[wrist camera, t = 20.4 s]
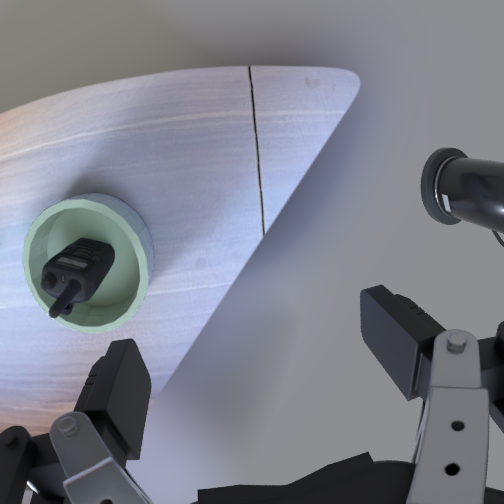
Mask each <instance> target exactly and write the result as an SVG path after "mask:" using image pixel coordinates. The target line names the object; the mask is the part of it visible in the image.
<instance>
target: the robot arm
mask: <svg viewBox="0 0 504 504" xmlns="http://www.w3.org/2000/svg"><path fill="white" fill-rule="evenodd" d="M433 195H434V199H435V203H436V205H437V207H438V209H439V210H440V211H441V212H442V213H443V214H444V215H446V216H448V217H452V218H457V219H460V220H464V221H467V222H470V223H473V224H476V225H479V226H482V227H485V228H488V229H491V230H492V231H493V233H494V235H495V237H496V238H497V240H498V241H499V243H500V244H501V245H502V246H503V247H504V242H503V241H502V239H501V238H500V236H499V235H498V233H497V232H500V233H503V234H504V162H499V161H490V160H480V159H472V158H461V157H457V156H450V157H447V158H445V159H444V160H443V161H442V162H441V163H440V164H439V166H438V168H437V170H436V172H435V176H434V180H433ZM496 231H497V232H496ZM360 307H361V308H360V310H361V332H362V337H363V340H364V341H365V343H366V345H367V346H368V347H369V349H370V350H371V351H372V353H373V354H374V355H375V357H376V358H377V359H378V361H379V362H380V363H381V365H382V366H383V368H384V369H385V370H386V372H387V373H388V374H389V376H390V377H391V378H392V380H393V381H394V382H395V384H396V385H397V386H398V388H399V389H400V391H401V392H402V393H403V395H404V396H405V398H406V399H407V400H408V401H410V400H412V399H415V398H417V397H419V396H420V397H421V398H422V399H423V403H422V407H421V412H420V418H419V422H418V427H417V432H416V437H415V441H414V445H413V449H412V453H411V456H410V460H409V462H404V461H392V460H386V461H375V462H373V460H372V458H371V456H370V454H369V452H366V453H363V454H360V455H357V456H355V457H351V458H348V459H345V460H342V461H340V462H336V463H333V464H329V465H327V466H325V467H323V468H321V469H319V470H317V471H315V472H313V473H311V474H310V475H307V476H306V477H303V478H301V479H300V480H297V481H295V482H293V483H290V484H288V485H281V486H280V485H279V486H278V485H276V486H275V485H272V486H271V485H269V486H268V485H265V486H264V485H234V486H227V487H219V488H211V489H200V490H198V501H196V502H193V503H191V504H504V491H501V490H497V489H493V488H489V487H486V486H485V485H486V476H487V465H488V448H489V415H490V416H491V417H492V419H493V420H494V421H495V423H496V424H497V425H498V426H499V428H500V429H501V430H502V432H503V433H504V321H503V322H501V323H500V325H499V326H498V329H497V333H496V337H491V338H486V339H481V340H477V339H476V338H475V337H474V336H473V335H472V334H471V333H469V332H466V331H463V330H446V329H445V328H443V327H442V326H441V325H440V324H439V323H438V322H437V321H435V320H434V319H433V318H432V317H431V316H430V315H428V314H427V313H425V312H424V310H422V309H421V308H420V307H418V306H417V305H416V304H415V303H414V302H413V301H411V299H409V298H407V297H404V296H401V295H399V294H396V295H394V294H392V293H391V292H390V291H389V290H388V289H386V287H384V286H383V285H378V286H374V287H371V288H367V289H363V290H362V291H361V294H360ZM88 376H89V378H87V380H86V382H85V386H84V387H83V389H82V391H81V394H80V396H79V398H78V401H77V403H76V406H75V408H74V411H73V412H68V413H66V414H63V415H62V416H60V417H59V418H57V419H56V420H55V421H54V423H53V424H52V426H51V428H50V431H49V433H46V434H42V435H38V436H34V437H32V436H31V435H30V434H29V433H28V431H27V430H26V429H25V428H24V427H22V426H12V427H9V428H7V429H6V430H4V431H3V432H2V433H1V434H0V504H22V499H23V495H24V491H25V488H26V485H27V484H28V485H29V486H30V487H31V488H32V489H33V490H34V491H33V495H32V499H31V502H30V504H154V503H153V502H152V501H151V500H150V498H149V497H148V496H147V495H146V493H145V492H144V491H143V490H142V488H141V487H140V486H139V485H138V484H137V482H136V481H135V479H134V478H133V477H132V476H131V474H130V473H129V471H128V470H127V469H126V468H125V466H126V461H127V460H139V459H140V452H141V445H142V439H143V432H144V427H145V421H146V415H147V409H148V404H149V398H150V393H151V379H150V375H149V373H148V370H147V368H146V366H145V363H144V361H143V359H142V357H141V354H140V352H139V349H138V347H137V345H136V343H135V341H134V340H133V339H124V340H118V341H112V342H111V344H110V346H109V348H108V351H107V353H106V355H105V356H102V357H101V358H100V359H99V360H98V361H97V362H96V363H95V364H94V365H93V366H92V369H91V371H90V373H89V375H88Z"/></svg>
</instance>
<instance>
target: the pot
mask: <svg viewBox="0 0 504 504" xmlns="http://www.w3.org/2000/svg"><path fill="white" fill-rule="evenodd" d="M79 238H88V239H93V240H97V241H101V242H104V243H107V244H110V245H111V246H112V247H113V249H114V251H115V259H114V263H113V265H112V267H111V268H110V270H109V272H108V274H107V275H106V277H105V278H104V280H103V282H102V283H101V285H100V286H99V288H98V289H97V291H96V292H95V294H94V295H93V296H92V297H91V298H90V299H89V300H88V301H86V302H83V303H75V304H74V307H73V309H72V312H71V313H70V314H69V315H62V314H60V315H59V316H58V317H57V318H52V319H54V320H55V321H57V322H58V323H60V324H61V325H63V326H64V327H67V328H70V329H73V330H76V331H79V332H82V333H103V332H106V331H109V330H113V329H116V328H119V327H120V326H122V325H123V324H124V323H125V322H127V321H128V320H129V319H131V318H132V317H133V316H134V315H135V313H136V312H137V310H138V308H139V307H140V305H141V304H142V302H143V301H144V298H145V295H146V292H147V289H148V285H149V282H150V279H151V274H152V271H153V266H154V248H153V243H152V239H151V236H150V233H149V231H148V229H147V227H146V225H145V223H144V222H143V220H142V218H141V217H140V216H139V215H138V214H137V212H136V211H135V210H134V209H132V208H131V207H130V206H129V205H128V204H126V203H125V202H123V201H121V200H120V199H118V198H116V197H113V196H110V195H106V194H101V193H89V194H80V195H77V196H74V197H71V198H68V199H66V200H63V201H61V202H59V203H57V204H55V205H52V206H50V207H48V208H46V209H45V210H44V211H43V212H42V213H41V214H40V215H39V216H38V218H37V219H36V220H35V221H34V222H33V223H32V225H31V227H30V229H29V232H28V234H27V236H26V239H25V241H24V250H23V260H22V263H23V268H24V274H25V279H26V282H27V284H28V287H29V289H30V291H31V293H32V295H33V297H34V299H35V301H36V302H37V303H38V304H39V306H40V307H41V308H42V309H43V310H44V311H45V312H46V314H47V315H48V316H49V309H50V308H51V306H52V305H53V304H54V302H55V301H56V299H55V298H54V297H52V296H50V295H49V294H48V293H47V292H46V291H44V290H43V289H42V288H41V286H40V283H41V275H42V269H43V267H44V265H45V264H46V263H47V262H48V261H49V260H50V259H51V258H52V257H53V256H55V255H56V254H58V253H59V252H61V251H62V250H63V249H64V248H65V247H67V246H68V245H69V244H72V243H73V242H75V241H76V240H78V239H79ZM49 317H50V316H49Z"/></svg>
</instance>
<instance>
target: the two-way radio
mask: <svg viewBox="0 0 504 504" xmlns="http://www.w3.org/2000/svg"><path fill="white" fill-rule="evenodd" d="M114 259H115V251H114V249H113V247H112V246H111V245H110V244H107V243H104V242H101V241H97V240H93V239H88V238H79V239H78V240H76V241H75V242H73V243H72V244H69V245H68V246H67V247H65V248H64V249H63V250H62V251H61V252H59V253H58V254H56V255H55V256H53V257H52V258H51V259H50V260H49V261H48V262H47V263H46V264H45V265H44V267H43V269H42V275H41V283H40V286H41V288H42V289H43V290H44V291H46V292H47V293H48V294H49V295H50V296H52V297H54V298H55V299H56V301H55V302H54V304H53V305H52V306H51V308H50V309H49V316H50V317H51V318H57V317H58V316H59V315H60V314H62V315H69V314H70V313H71V312H72V309H73V307H74V304H75V303H83V302H86V301H88V300H89V299H90V298H91V297H92V296H93V295H94V294H95V292H96V291H97V289H98V288H99V286H100V285H101V283H102V282H103V280H104V278H105V277H106V275H107V274H108V272H109V270H110V268H111V267H112V265H113V263H114Z"/></svg>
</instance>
